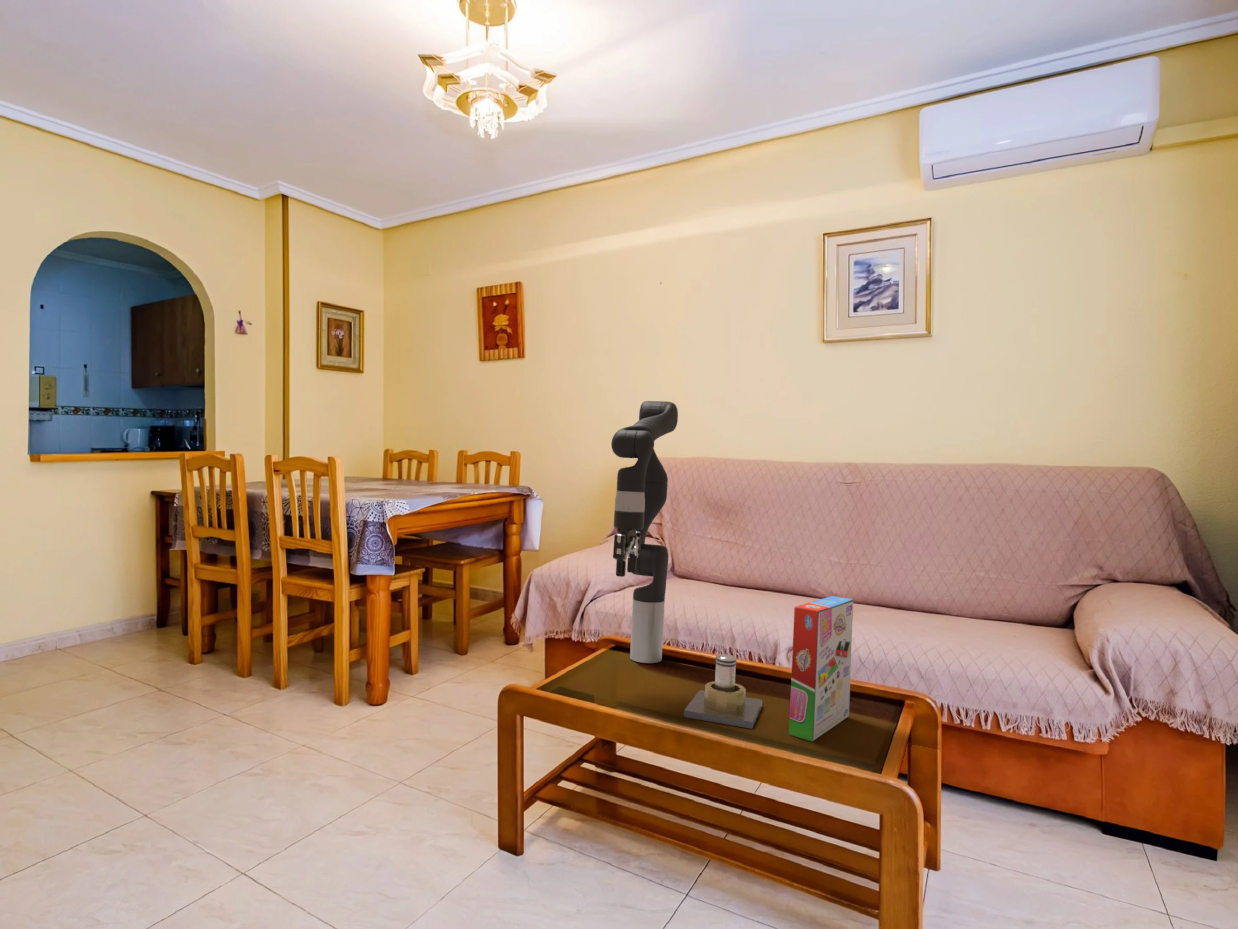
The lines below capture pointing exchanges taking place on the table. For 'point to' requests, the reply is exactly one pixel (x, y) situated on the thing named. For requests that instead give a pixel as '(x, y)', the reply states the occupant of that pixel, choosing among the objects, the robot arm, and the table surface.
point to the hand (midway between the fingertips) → (626, 574)
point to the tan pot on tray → (724, 707)
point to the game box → (820, 666)
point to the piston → (725, 672)
